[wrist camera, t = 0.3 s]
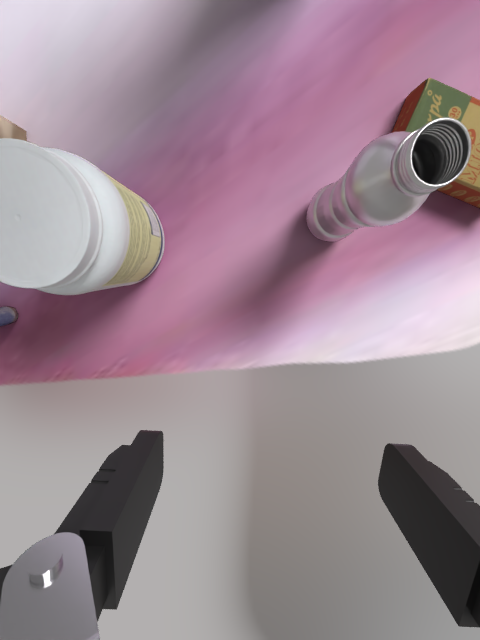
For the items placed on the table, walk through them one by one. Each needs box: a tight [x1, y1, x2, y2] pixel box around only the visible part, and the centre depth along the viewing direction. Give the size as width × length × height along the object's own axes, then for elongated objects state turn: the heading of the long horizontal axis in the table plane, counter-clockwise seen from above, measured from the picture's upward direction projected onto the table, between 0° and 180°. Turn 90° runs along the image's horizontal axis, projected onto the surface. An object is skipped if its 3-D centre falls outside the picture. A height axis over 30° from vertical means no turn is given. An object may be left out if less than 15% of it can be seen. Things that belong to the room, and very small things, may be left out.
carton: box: [392, 78, 480, 208], centre depth 31 cm, size 8×16×4 cm, turn 70°
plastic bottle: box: [307, 117, 471, 242], centre depth 25 cm, size 6×7×20 cm
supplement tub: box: [0, 138, 165, 295], centre depth 27 cm, size 12×12×17 cm
